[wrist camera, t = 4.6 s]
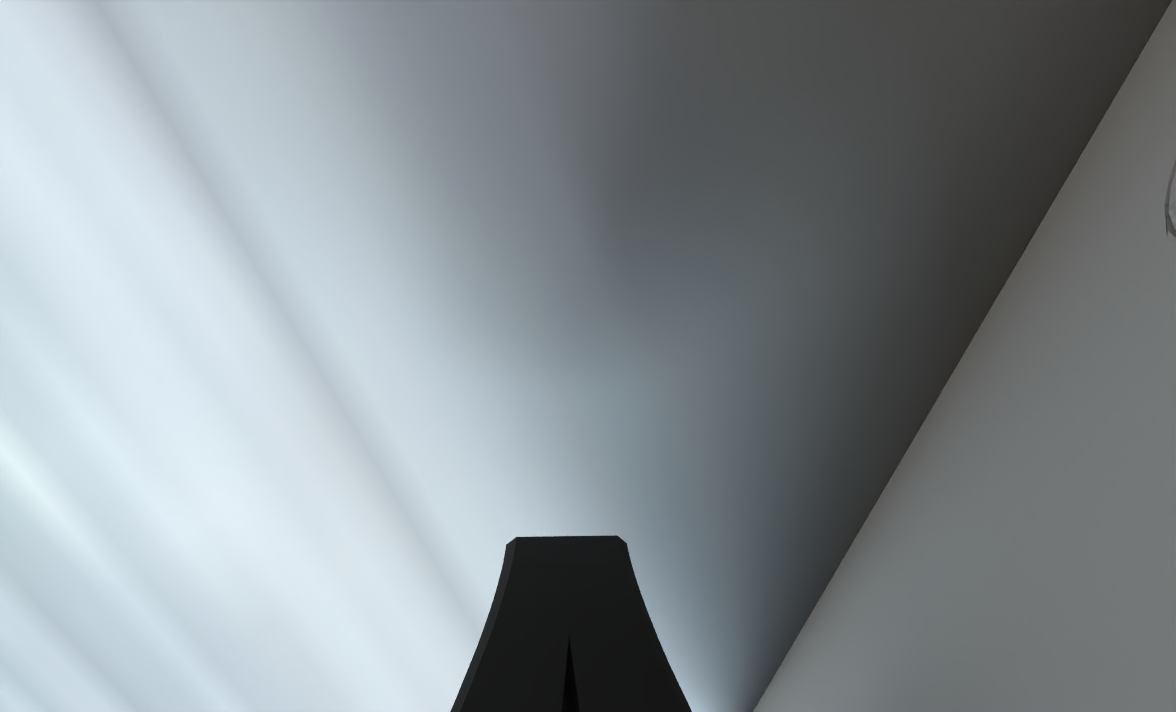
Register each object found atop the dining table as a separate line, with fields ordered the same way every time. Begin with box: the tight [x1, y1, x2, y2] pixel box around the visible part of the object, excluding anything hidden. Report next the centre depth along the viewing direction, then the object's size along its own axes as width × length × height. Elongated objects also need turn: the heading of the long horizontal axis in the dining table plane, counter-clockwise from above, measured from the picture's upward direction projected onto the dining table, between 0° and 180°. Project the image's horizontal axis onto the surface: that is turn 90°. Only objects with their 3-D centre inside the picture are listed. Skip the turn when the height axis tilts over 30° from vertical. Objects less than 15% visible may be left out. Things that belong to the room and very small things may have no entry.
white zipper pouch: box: [753, 0, 1176, 712], centre depth 9 cm, size 17×5×10 cm, turn 165°
